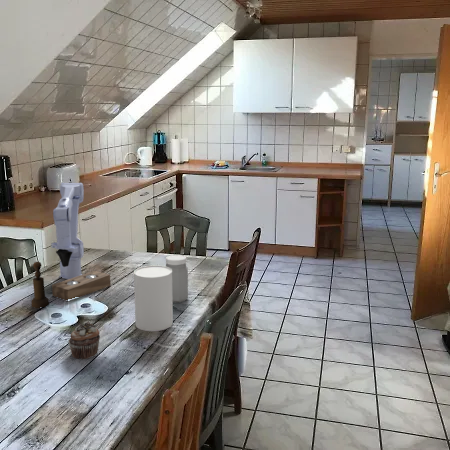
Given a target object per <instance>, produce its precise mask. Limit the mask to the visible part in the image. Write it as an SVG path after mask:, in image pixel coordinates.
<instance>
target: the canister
mask: <svg viewBox="0 0 450 450" xmlns="http://www.w3.org/2000/svg"><path fill="white" fill-rule="evenodd" d="M133 286H134V287H133V288H134V315H135V318H134V319H135V326H136V328H137V329H139V330H141V331H146V332H159V331H163V330H167V329H168V328H170V327H171V326H173V323H174V321H173V319H174V317H173V313H174V312H173V310H174V309H173V303H172V269H170V268H169V267H166V265H158V264H157V265H156V264H155V265H146V266H145V265H144V266H140V267H138V268H135V270H134V271H133Z"/></svg>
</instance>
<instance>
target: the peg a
mask: <svg viewBox="0 0 450 450" xmlns="http://www.w3.org/2000/svg"><path fill="white" fill-rule="evenodd" d="M76 284H78V282H77V281H70V282H68V283H67V285H71V286H73V285H76Z"/></svg>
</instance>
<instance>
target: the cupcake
mask: <svg viewBox="0 0 450 450" xmlns="http://www.w3.org/2000/svg"><path fill="white" fill-rule="evenodd" d="M100 338H101V336H100V330H98V329H97V328H96V326H95V325H94V324H92V323H91V321H86V323H84V324H82V323H79V325H77V326H76V327H75V328H74V330H73V331H72V332H71V334H70V338H69V339H68V341H67V342H68V345H69V348H70V349H69V350H70V352H71V356H72V357H73V358H74V359H77V360H87V359H90V358H92V357H95V356H96V355H97V354H98V351H99V345H100Z"/></svg>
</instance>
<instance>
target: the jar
mask: <svg viewBox="0 0 450 450" xmlns="http://www.w3.org/2000/svg"><path fill="white" fill-rule="evenodd" d="M165 267H169V268H170V269H172V304H177V303H178V304H179V303H184V302H186V301H187V299H188V297H189V276H188V275H189V273H188V272H189V267H188V266H187V257H186V256H185V255H182V254H171V255H170V254H169V255H168V256H166V257H165Z"/></svg>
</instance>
